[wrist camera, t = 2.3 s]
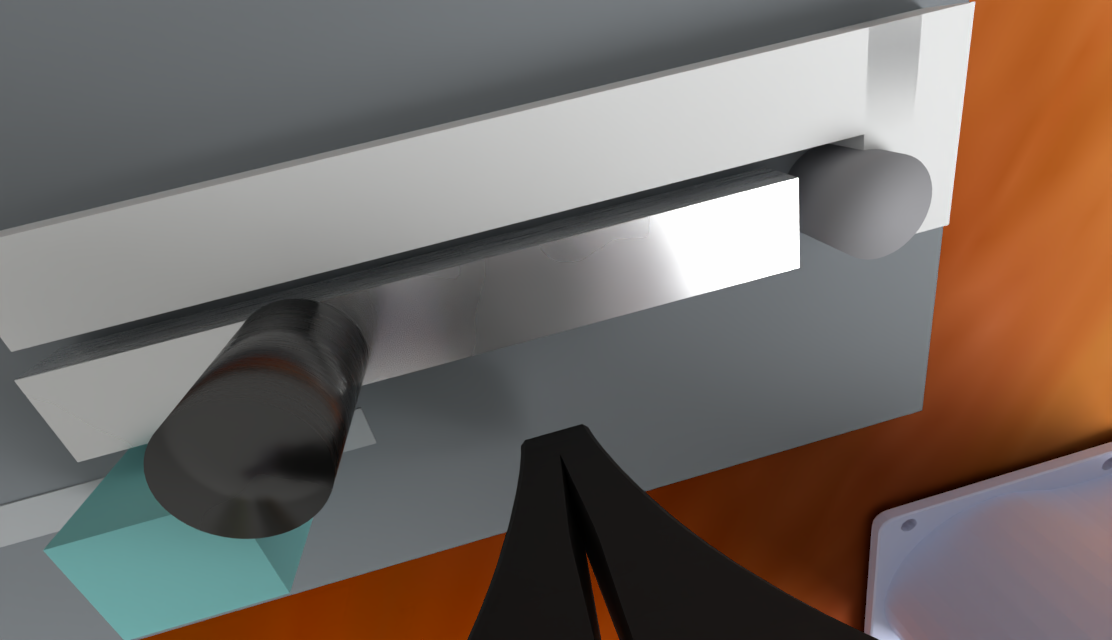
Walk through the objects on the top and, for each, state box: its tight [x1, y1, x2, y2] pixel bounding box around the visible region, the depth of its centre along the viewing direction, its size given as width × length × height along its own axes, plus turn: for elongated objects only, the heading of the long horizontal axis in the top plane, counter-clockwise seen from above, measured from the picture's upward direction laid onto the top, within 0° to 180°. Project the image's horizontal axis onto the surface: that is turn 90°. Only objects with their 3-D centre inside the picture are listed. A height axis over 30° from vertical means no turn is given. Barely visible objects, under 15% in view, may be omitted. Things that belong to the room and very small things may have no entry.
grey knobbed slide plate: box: [0, 0, 975, 640], centre depth 10 cm, size 25×15×2 cm, turn 102°
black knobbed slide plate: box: [14, 167, 799, 539], centre depth 9 cm, size 14×2×4 cm, turn 102°
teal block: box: [43, 444, 313, 640], centre depth 11 cm, size 3×2×3 cm
